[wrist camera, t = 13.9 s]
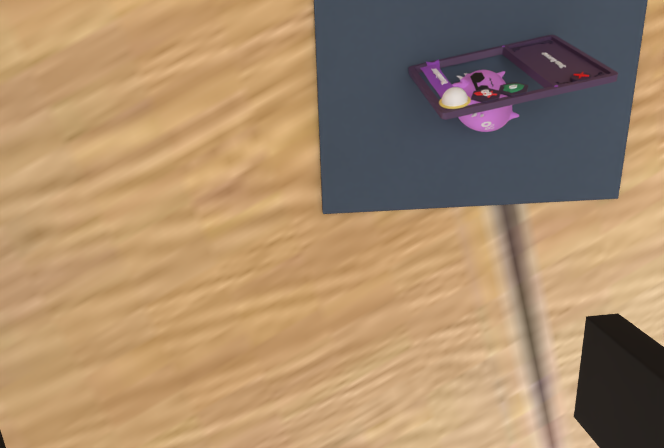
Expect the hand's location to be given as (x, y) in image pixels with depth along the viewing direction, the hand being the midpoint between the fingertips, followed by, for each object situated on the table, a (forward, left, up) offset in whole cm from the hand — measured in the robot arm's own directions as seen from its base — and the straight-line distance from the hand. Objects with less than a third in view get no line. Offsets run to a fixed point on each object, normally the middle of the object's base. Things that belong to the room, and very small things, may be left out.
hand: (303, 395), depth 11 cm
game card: (+12, +5, -22) cm, 25 cm away
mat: (+11, +5, -22) cm, 25 cm away
